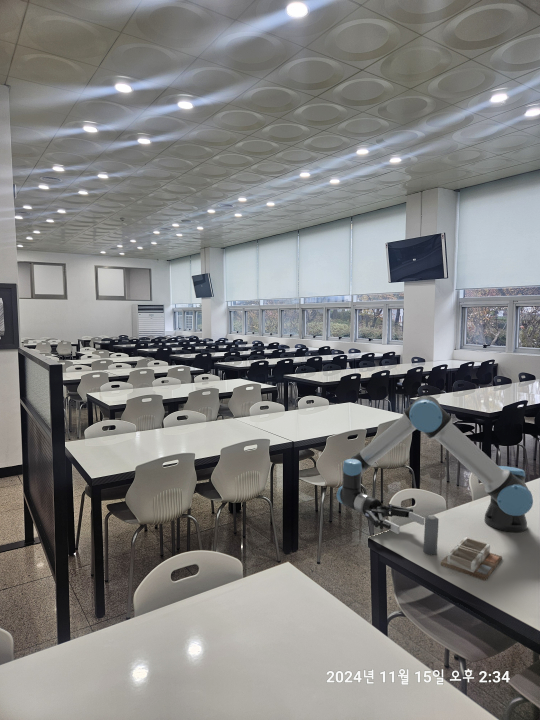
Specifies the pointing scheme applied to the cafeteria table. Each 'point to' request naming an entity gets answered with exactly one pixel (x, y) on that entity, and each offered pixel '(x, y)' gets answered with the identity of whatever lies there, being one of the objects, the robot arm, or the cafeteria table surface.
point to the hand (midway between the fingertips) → (411, 525)
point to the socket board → (472, 558)
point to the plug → (431, 535)
